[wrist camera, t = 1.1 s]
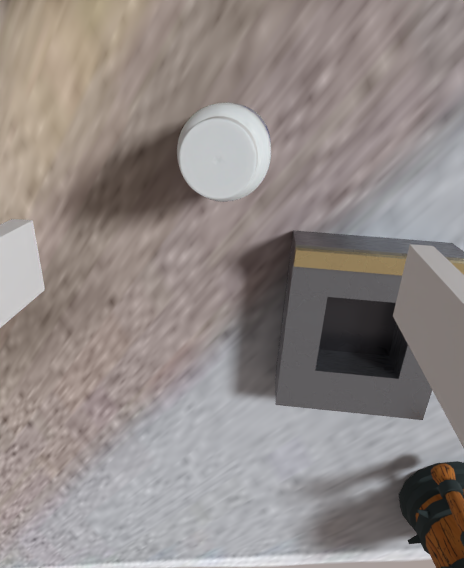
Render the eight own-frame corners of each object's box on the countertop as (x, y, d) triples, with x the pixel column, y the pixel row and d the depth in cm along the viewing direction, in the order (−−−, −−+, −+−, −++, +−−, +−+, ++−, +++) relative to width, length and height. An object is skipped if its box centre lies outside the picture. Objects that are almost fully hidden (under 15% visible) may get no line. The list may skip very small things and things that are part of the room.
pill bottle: (207, 189, 31) (182, 223, 22) (187, 115, 29) (150, 119, 20) (277, 172, 30) (281, 200, 21) (262, 94, 28) (257, 88, 19)
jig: (293, 230, 31) (296, 247, 28) (452, 243, 31) (477, 262, 27) (275, 379, 37) (275, 409, 33) (409, 392, 36) (425, 425, 33)
